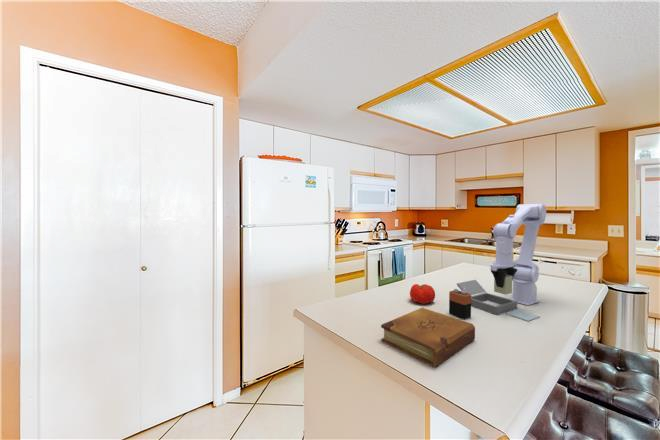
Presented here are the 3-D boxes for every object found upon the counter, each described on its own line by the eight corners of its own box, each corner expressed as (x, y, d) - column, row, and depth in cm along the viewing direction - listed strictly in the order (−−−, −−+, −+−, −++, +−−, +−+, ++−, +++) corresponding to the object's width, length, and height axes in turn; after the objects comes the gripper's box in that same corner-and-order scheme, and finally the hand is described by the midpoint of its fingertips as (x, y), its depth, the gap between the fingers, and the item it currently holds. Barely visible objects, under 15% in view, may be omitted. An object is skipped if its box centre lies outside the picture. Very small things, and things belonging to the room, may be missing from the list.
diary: (436, 370, 69) (436, 349, 69) (381, 342, 84) (381, 324, 83) (474, 341, 83) (475, 323, 83) (422, 322, 98) (422, 306, 98)
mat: (517, 310, 107) (517, 309, 107) (539, 317, 100) (539, 316, 100) (505, 314, 103) (505, 313, 103) (528, 321, 96) (528, 320, 96)
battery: (464, 320, 98) (464, 293, 98) (448, 313, 104) (448, 288, 104) (471, 317, 100) (471, 291, 100) (455, 311, 106) (455, 287, 106)
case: (475, 295, 125) (475, 279, 125) (517, 308, 109) (517, 289, 109) (455, 300, 119) (455, 283, 119) (496, 315, 103) (497, 295, 102)
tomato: (408, 304, 115) (408, 287, 115) (411, 296, 125) (411, 281, 125) (435, 307, 111) (435, 290, 111) (435, 299, 121) (435, 283, 121)
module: (500, 290, 110) (501, 272, 110) (512, 293, 106) (512, 274, 106) (494, 291, 108) (494, 273, 108) (505, 294, 104) (505, 276, 104)
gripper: (504, 250, 113) (504, 281, 114) (483, 253, 107) (482, 286, 107) (522, 252, 107) (521, 285, 108) (501, 255, 101) (500, 290, 101)
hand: (503, 286), depth 107 cm, fingers closed on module, 4 cm apart
